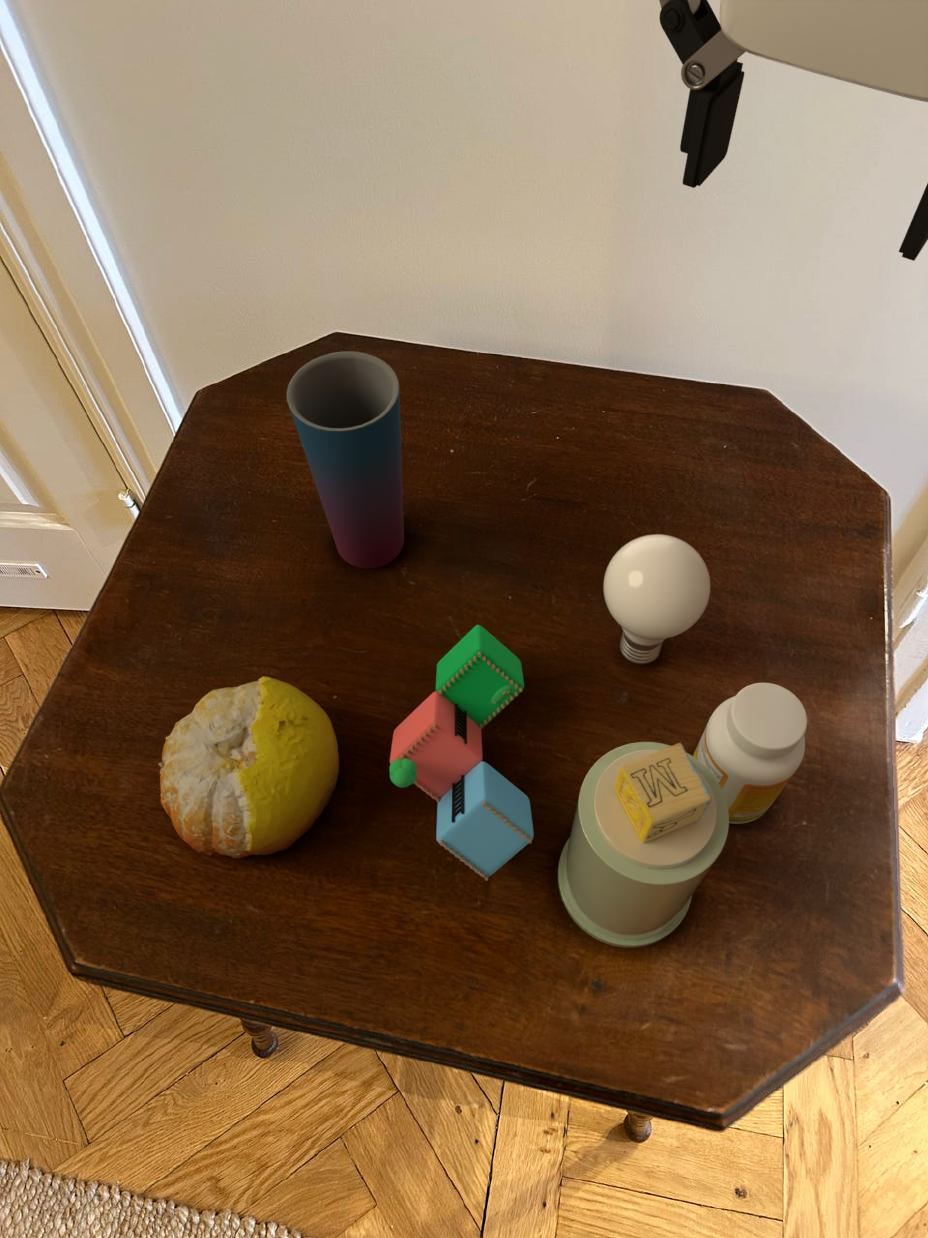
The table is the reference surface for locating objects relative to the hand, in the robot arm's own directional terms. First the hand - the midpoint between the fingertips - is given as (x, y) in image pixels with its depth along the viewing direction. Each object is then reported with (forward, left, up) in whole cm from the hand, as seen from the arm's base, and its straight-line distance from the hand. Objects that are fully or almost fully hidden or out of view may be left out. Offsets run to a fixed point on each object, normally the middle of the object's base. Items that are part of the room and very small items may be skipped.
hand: (806, 204), depth 39 cm
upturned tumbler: (-7, +20, -30) cm, 36 cm away
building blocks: (+4, +19, -30) cm, 36 cm away
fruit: (+15, +28, -30) cm, 44 cm away
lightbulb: (0, +6, -30) cm, 31 cm away
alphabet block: (-7, +20, -18) cm, 28 cm away
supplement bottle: (-9, +11, -30) cm, 33 cm away
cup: (+21, +9, -30) cm, 38 cm away
